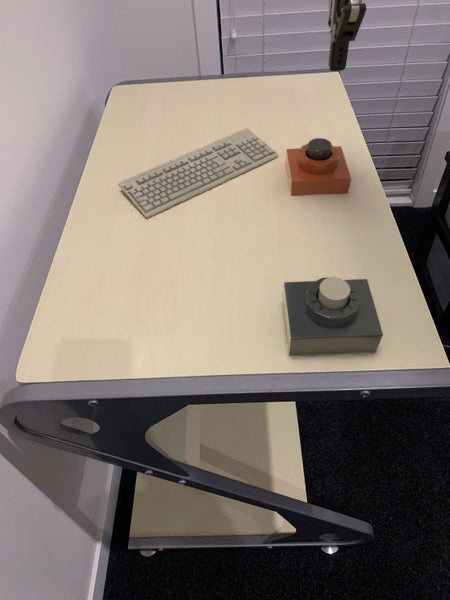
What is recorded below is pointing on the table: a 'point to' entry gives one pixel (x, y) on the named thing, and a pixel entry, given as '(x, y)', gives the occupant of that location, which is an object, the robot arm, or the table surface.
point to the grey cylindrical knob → (333, 293)
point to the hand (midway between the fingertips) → (336, 68)
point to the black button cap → (319, 149)
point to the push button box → (330, 320)
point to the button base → (317, 172)
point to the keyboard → (196, 172)
